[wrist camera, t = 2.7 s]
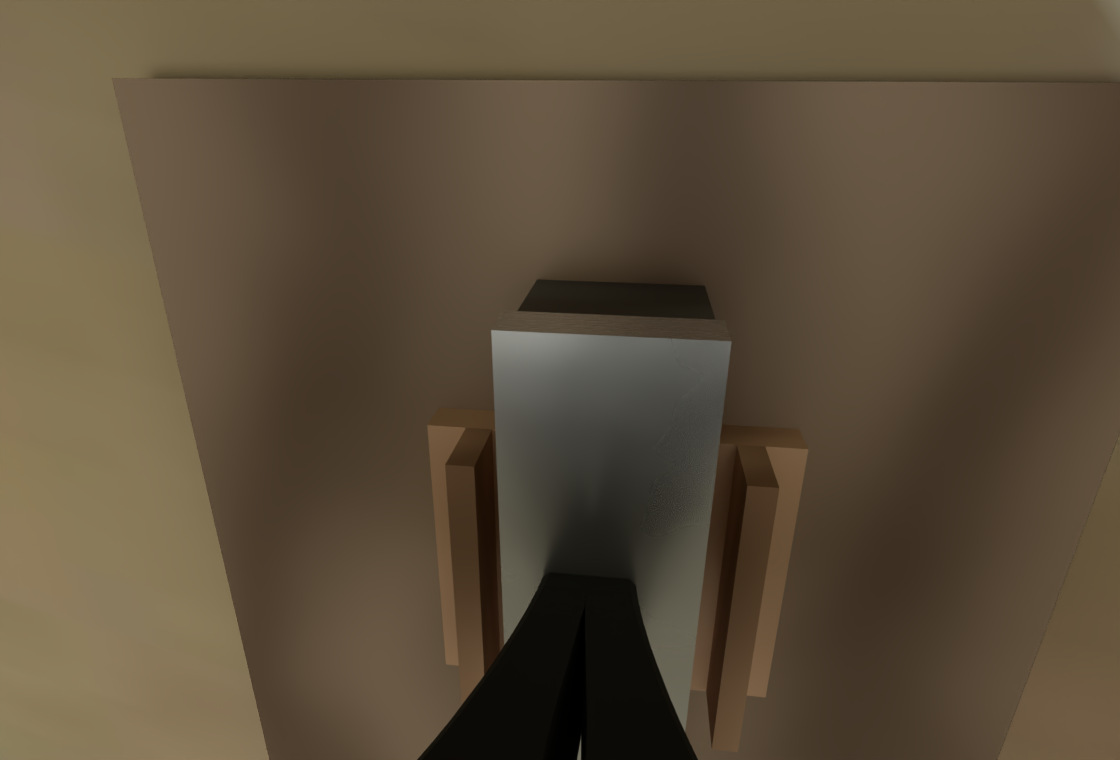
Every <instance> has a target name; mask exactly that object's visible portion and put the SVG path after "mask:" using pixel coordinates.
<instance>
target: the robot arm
mask: <svg viewBox="0 0 1120 760" xmlns="http://www.w3.org/2000/svg"><path fill="white" fill-rule="evenodd" d="M580 740H581V760H698V758H697V756H696V754H695V752H694V750H693V748H692V746H691V744H690V742H689V739H688V737H687V735H686V733H685V731H684V729H683V726H682V724H681V722H680V720H679V718H678V715H677V713H676V711H675V708H674V706H673V704H672V701H671V699H670V696H669V694H668V691H667V689H666V686H665V683H664V681H663V678H662V676H661V673H660V671H659V668H658V665H657V663H656V660H655V657H654V654H653V651H652V648H651V646H650V642H649V639H648V636H647V633H646V629H645V626H644V622H643V619H642V615H641V611H640V606H639V602H638V596H637V589H636V585H635V584H634V583H633V582H632V581H631V580H630V579H625V578H612V577H599V576H588V575H576V574H564V573H553V572H549V573H548V574H547V575H545V576H544V577H542V580H541V582H540V584H539V586H538V589H537V591H536V592H535V594H534V596H533V598H532V600H531V602H530V604H529V606H528V608H527V609H526V611H525V613H524V615H523V616H522V618H521V620H520V621H519V623H518V625H517V626H516V628H515V630H514V631H513V633H512V634H511V636H510V637H509V639H508V640H507V642H506V643H505V645H504V646H503V648H502V650H501V651H500V653H499V654H498V656H497V657H496V659H495V660H494V662H493V663H492V665H491V666H490V668H489V669H488V670H487V672H486V673H485V675H484V676H483V678H482V679H481V680H480V682H479V683H478V684H477V686H476V687H475V688H474V690H473V691H472V692H471V693H470V695H469V696H468V697H467V699H466V700H465V701H464V703H463V704H462V705H461V707H460V708H459V709H458V711H457V712H456V713H455V715H454V716H453V717H452V719H451V720H450V721H449V722H448V724H447V725H446V726H445V727H444V728H443V730H442V731H441V732H440V733H439V735H438V736H437V737H436V738H435V739H434V741H433V742H432V743H431V744H430V745H429V746H428V748H427V749H426V750H425V751H424V752H423V753H422V755H421V756H420V757H419V758H418V759H417V760H577V758H578V752H579V746H580Z"/></svg>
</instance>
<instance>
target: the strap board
mask: <svg viewBox="0 0 1120 760" xmlns="http://www.w3.org/2000/svg"><path fill="white" fill-rule="evenodd" d="M112 81H113V85H114V89H115V94H116V98H117V102H118V107H119V111H120V115H121V120H122V124H123V128H124V133H125V137H126V141H127V145H128V150H129V154H130V158H131V163H132V167H133V171H134V176H135V180H136V184H137V189H138V193H139V197H140V202H141V206H142V210H143V215H144V219H145V223H146V228H147V232H148V236H149V241H150V245H151V249H152V254H153V258H154V262H155V267H156V271H157V275H158V280H159V284H160V288H161V293H162V297H163V301H164V306H165V310H166V314H167V318H168V323H169V327H170V331H171V336H172V340H173V344H174V349H175V353H176V357H177V362H178V366H179V370H180V375H181V379H182V383H183V388H184V392H185V396H186V401H187V405H188V409H189V414H190V418H191V422H192V427H193V431H194V435H195V440H196V444H197V448H198V453H199V457H200V461H201V466H202V470H203V474H204V479H205V483H206V487H207V492H208V496H209V500H210V504H211V509H212V513H213V517H214V522H215V526H216V530H217V535H218V539H219V543H220V548H221V552H222V556H223V561H224V565H225V569H226V574H227V578H228V582H229V587H230V591H231V595H232V600H233V604H234V608H235V613H236V617H237V621H238V626H239V630H240V634H241V639H242V643H243V647H244V652H245V656H246V660H247V665H248V669H249V673H250V677H251V682H252V686H253V690H254V695H255V699H256V703H257V708H258V712H259V716H260V721H261V725H262V729H263V734H264V738H265V742H266V747H267V751H268V755H269V760H417V759H418V758H419V757H420V756H421V755H422V753H423V752H424V751H425V750H426V749H427V748H428V746H429V745H430V744H431V743H432V742H433V741H434V739H435V738H436V737H437V736H438V735H439V733H440V732H441V731H442V730H443V728H444V727H445V726H446V725H447V724H448V722H449V721H450V720H451V719H452V717H453V716H454V715H455V713H456V712H457V711H458V709H459V708H460V707H461V705H462V704H463V703H464V701H465V700H466V699H467V697H468V696H469V695H470V693H471V692H472V691H473V690H474V688H475V687H476V686H477V684H478V683H479V682H480V680H481V679H482V678H483V676H484V675H485V673H486V672H487V670H488V669H489V668H490V666H491V665H492V663H493V662H494V660H495V659H496V657H497V656H498V654H499V653H500V651H501V650H502V648H503V646H504V627H503V603H502V579H501V555H500V531H499V507H498V482H497V458H496V434H495V410H494V386H493V361H492V337H491V330H492V328H493V327H494V325H495V323H496V322H497V320H498V319H499V317H500V316H501V314H502V312H503V311H526V312H549V313H572V314H596V315H619V316H642V317H665V318H689V319H712V320H725V322H726V326H727V329H728V332H729V335H730V338H731V350H730V358H729V367H728V375H727V383H726V392H725V400H724V409H723V417H722V426H721V434H720V443H719V451H718V459H717V468H716V476H715V485H714V493H713V502H712V510H711V518H710V527H709V535H708V544H707V552H706V561H705V569H704V577H703V586H702V594H701V603H700V611H699V620H698V628H697V636H696V645H695V653H694V662H693V670H692V679H691V687H690V695H689V704H688V712H687V721H686V729H685V733H686V735H687V737H688V739H689V742H690V744H691V746H692V748H693V750H694V752H695V754H696V756H697V758H698V760H997V759H998V756H999V754H1000V751H1001V748H1002V746H1003V743H1004V740H1005V738H1006V735H1007V732H1008V730H1009V727H1010V724H1011V722H1012V719H1013V716H1014V714H1015V711H1016V708H1017V706H1018V703H1019V700H1020V698H1021V695H1022V692H1023V690H1024V687H1025V684H1026V682H1027V679H1028V676H1029V674H1030V671H1031V668H1032V666H1033V663H1034V660H1035V658H1036V655H1037V652H1038V650H1039V647H1040V644H1041V642H1042V639H1043V636H1044V634H1045V631H1046V628H1047V626H1048V623H1049V620H1050V618H1051V615H1052V612H1053V610H1054V607H1055V604H1056V602H1057V599H1058V596H1059V594H1060V591H1061V588H1062V585H1063V583H1064V580H1065V577H1066V575H1067V572H1068V569H1069V567H1070V564H1071V561H1072V559H1073V556H1074V553H1075V551H1076V548H1077V545H1078V543H1079V540H1080V537H1081V535H1082V532H1083V529H1084V527H1085V524H1086V521H1087V519H1088V516H1089V513H1090V511H1091V508H1092V505H1093V503H1094V500H1095V497H1096V495H1097V492H1098V489H1099V487H1100V484H1101V481H1102V479H1103V476H1104V473H1105V471H1106V468H1107V465H1108V463H1109V460H1110V457H1111V455H1112V452H1113V449H1114V447H1115V444H1116V441H1117V439H1118V436H1119V433H1120V83H1077V82H848V81H619V80H389V79H160V78H112Z"/></svg>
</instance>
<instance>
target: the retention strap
mask: <svg viewBox="0 0 1120 760" xmlns="http://www.w3.org/2000/svg"><path fill="white" fill-rule="evenodd" d="M491 337H492V361H493V386H494V410H495V434H496V458H497V482H498V507H499V531H500V555H501V579H502V603H503V627H504V645H505V643H506V642H507V640H508V639H509V637H510V636H511V634H512V633H513V631H514V630H515V628H516V626H517V625H518V623H519V621H520V620H521V618H522V616H523V615H524V613H525V611H526V609H527V608H528V606H529V604H530V602H531V600H532V598H533V596H534V594H535V592H536V591H537V589H538V586H539V584H540V582H541V580H542V577H544V576H545V575H547V574H548V573H549V572H553V573H564V574H576V575H588V576H599V577H612V578H625V579H630V580H631V581H632V582H633V583H634V584H635V585H636V589H637V596H638V602H639V606H640V611H641V615H642V619H643V622H644V626H645V629H646V633H647V636H648V639H649V642H650V646H651V648H652V651H653V654H654V657H655V660H656V663H657V665H658V668H659V671H660V673H661V676H662V678H663V681H664V683H665V686H666V689H667V691H668V694H669V696H670V699H671V701H672V704H673V706H674V708H675V711H676V713H677V715H678V718H679V720H680V722H681V724H682V726H683V729H684V731H685V729H686V721H687V712H688V704H689V695H690V687H691V679H692V670H693V662H694V653H695V645H696V636H697V628H698V620H699V611H700V603H701V594H702V586H703V577H704V569H705V561H706V552H707V544H708V535H709V527H710V518H711V510H712V502H713V493H714V485H715V476H716V468H717V459H718V451H719V443H720V434H721V426H722V417H723V409H724V400H725V392H726V383H727V375H728V367H729V358H730V350H731V338H730V335H729V332H728V329H727V326H726V322H725V320H712V319H689V318H665V317H642V316H619V315H596V314H572V313H549V312H526V311H503V312H502V314H501V316H500V317H499V319H498V320H497V322H496V323H495V325H494V327H493V328H492V330H491ZM577 760H581V740H580V746H579V752H578V758H577Z"/></svg>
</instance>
